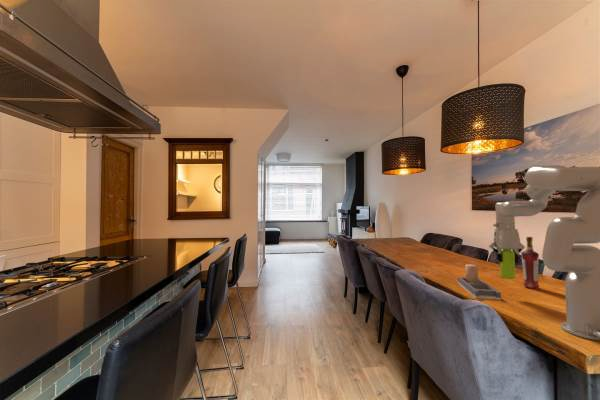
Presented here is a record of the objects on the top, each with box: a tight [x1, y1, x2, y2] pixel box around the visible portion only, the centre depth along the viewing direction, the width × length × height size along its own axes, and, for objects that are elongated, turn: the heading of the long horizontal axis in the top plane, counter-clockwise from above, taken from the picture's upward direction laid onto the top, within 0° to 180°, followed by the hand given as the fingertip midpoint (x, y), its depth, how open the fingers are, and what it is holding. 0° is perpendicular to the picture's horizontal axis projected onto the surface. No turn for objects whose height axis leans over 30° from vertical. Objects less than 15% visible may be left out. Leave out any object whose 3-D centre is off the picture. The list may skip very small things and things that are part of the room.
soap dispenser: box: [499, 249, 516, 280], centre depth 134 cm, size 6×7×20 cm
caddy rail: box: [457, 263, 502, 301], centre depth 143 cm, size 26×11×12 cm, turn 166°
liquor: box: [520, 236, 540, 290], centre depth 146 cm, size 7×7×28 cm
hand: (507, 261), depth 134 cm, fingers closed on soap dispenser, 6 cm apart
